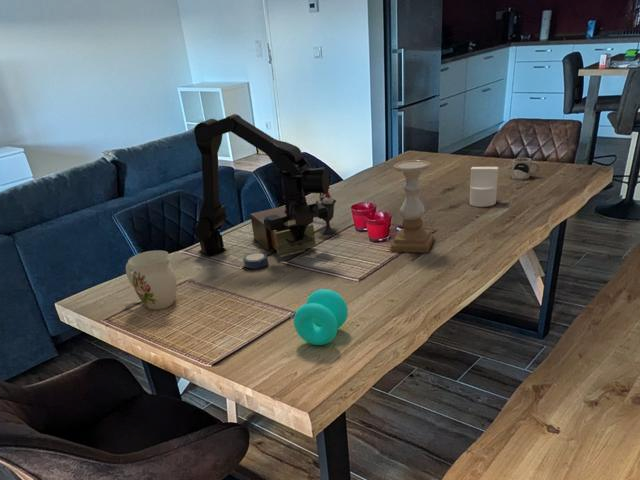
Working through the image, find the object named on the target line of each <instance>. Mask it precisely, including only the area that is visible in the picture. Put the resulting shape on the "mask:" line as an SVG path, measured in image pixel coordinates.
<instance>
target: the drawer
mask: <svg viewBox="0 0 640 480" xmlns="http://www.w3.org/2000/svg"><path fill="white" fill-rule="evenodd" d="M268 234H269V241H270V245H271V246H272V247H273V248H274V249H275V251H276V252H277V254H276V255H278V256H281V255H286V254H289V253H293V252H296V251H297V252H298V251H301V250H305V249H308V248H309V249H310V248H312V247H316V237H315V228H314V224H313V223H311V224H309V225H308V226H307V227H306V230H305V233H304V237H303V238H302V239H298V240H295V238H294V236H293V234H292V233H291V231H290V229H289V228H287V227H286V226H284V225H283V227H282V228H281V229H277V230H269V229H268ZM298 244H302V245H298Z"/></svg>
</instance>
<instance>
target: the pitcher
mask: <svg viewBox="0 0 640 480" xmlns="http://www.w3.org/2000/svg"><path fill="white" fill-rule="evenodd" d="M172 259H173V256H171V255H169V252H168V251H166V250H160V249H159V250H156V249H155V250H148V251H144V252H143V251H142V252H140V253H137V254H135V255H133V256H131V257H130V258H129V259H128V260H127V263H126V264H125V273H126V277H127V279H128V281H129V283H130V285H131V286H132V287H133V288H134V291H135V293H136V295H137V297H138V298H139V300H140V301H141V302H142V303H143V304H144V306H146V307H148V309H150V310H162V309H165V308H168V307H170V306H172V304H173V303H174V301H175V299H176V296H177V290H178V289H177V287H178V285H177V284H178V283H177V276H176V274H175V271H174V268H173V266H172V265H171V263H170V262H171V261H172Z"/></svg>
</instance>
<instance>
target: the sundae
mask: <svg viewBox="0 0 640 480" xmlns="http://www.w3.org/2000/svg"><path fill="white" fill-rule="evenodd" d="M329 189H331V187H330V186H329ZM318 198H319V199H318V200H316V201H315V203H317V204H321V205H323V206H325V207H326V208H327V209H328V211H329V217H326V218H322V219H321V220H322V221H324V222H325V228H323V229H322V230H321V231H320V232H321V234H323V235H324V234H325V235H330V234H334V233H336V232H337V229H335V228H332V227H331V223H330V222H331V220H333V218H334V213H335V204H336V203H337V199H334V198H333V197H332V195H331V193H330V191H329V190H328V192H327V193H319V197H318Z"/></svg>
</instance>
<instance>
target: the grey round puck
mask: <svg viewBox="0 0 640 480" xmlns="http://www.w3.org/2000/svg"><path fill="white" fill-rule="evenodd" d="M242 260H243V266H244V267H245V268H248V269H250V270H259V269H262V268H264V267H265V266H266V265H267V264H269V259H268V254H267V253H264V252H252V253H248V254H246V255H245V256H243V258H242Z"/></svg>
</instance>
